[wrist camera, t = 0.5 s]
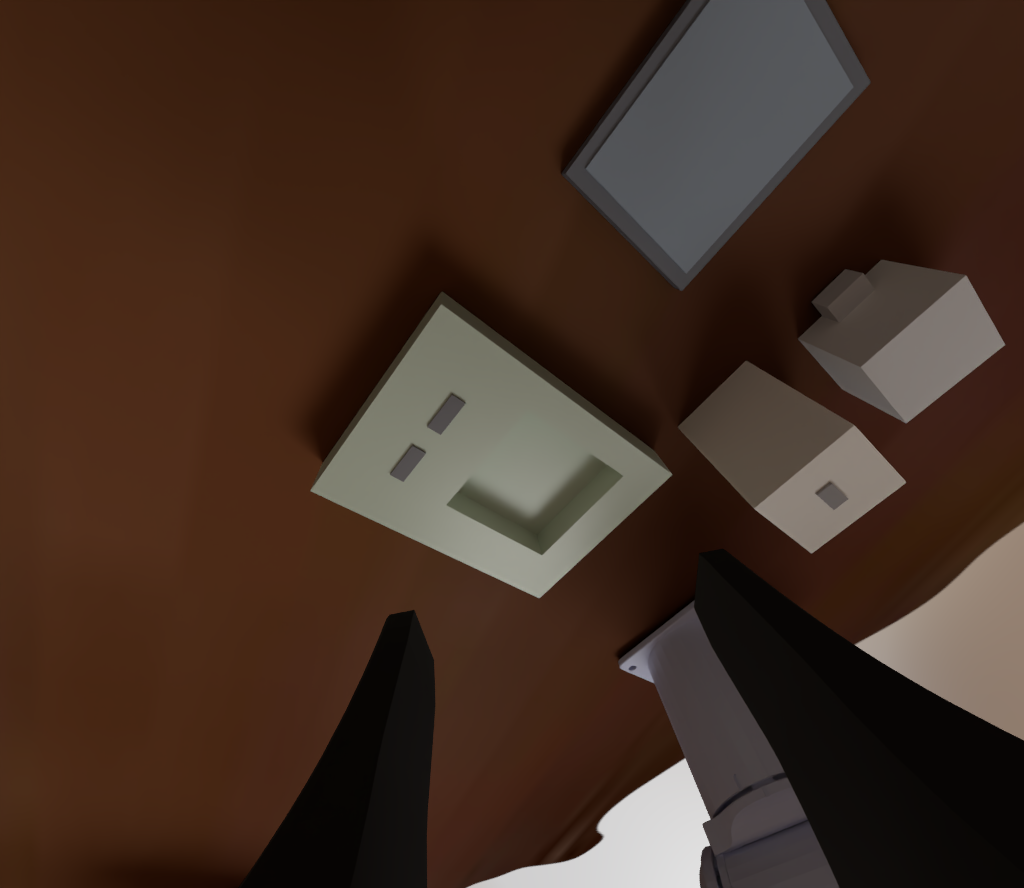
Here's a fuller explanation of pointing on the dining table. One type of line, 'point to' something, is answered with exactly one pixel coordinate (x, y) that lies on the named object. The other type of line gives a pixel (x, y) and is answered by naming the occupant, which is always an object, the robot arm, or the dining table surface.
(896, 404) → the cable plug
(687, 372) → the dining table surface
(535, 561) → the outlet plate
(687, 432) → the charger
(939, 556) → the dining table surface
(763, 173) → the phone
